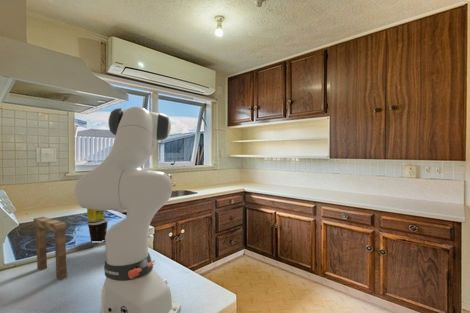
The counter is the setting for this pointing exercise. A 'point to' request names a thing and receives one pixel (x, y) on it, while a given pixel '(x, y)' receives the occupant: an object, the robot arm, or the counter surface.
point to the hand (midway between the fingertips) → (94, 207)
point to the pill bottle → (95, 216)
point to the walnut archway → (60, 244)
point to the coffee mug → (98, 231)
